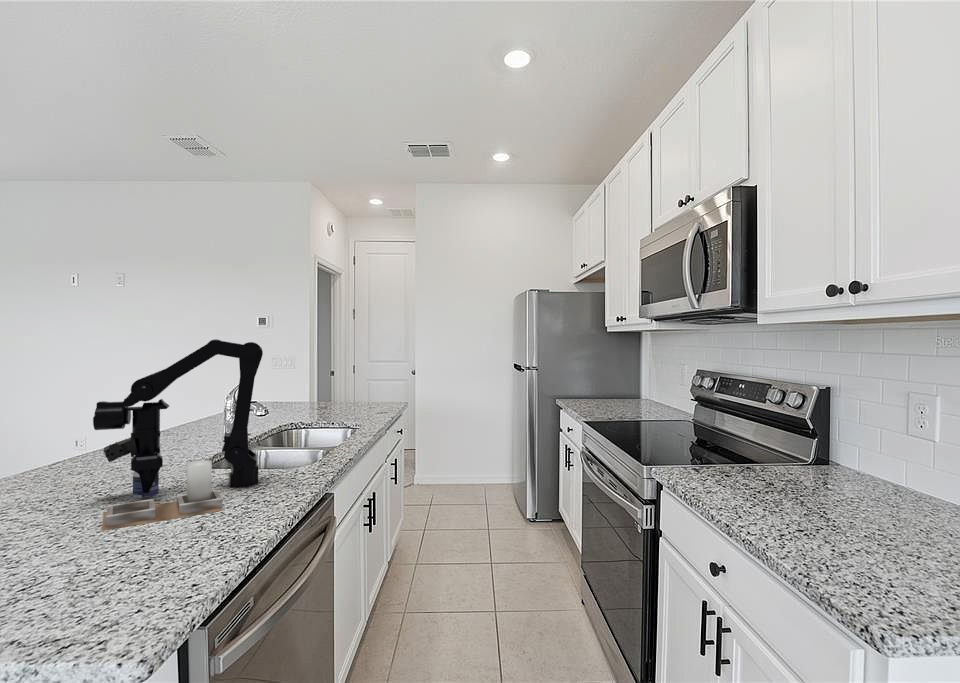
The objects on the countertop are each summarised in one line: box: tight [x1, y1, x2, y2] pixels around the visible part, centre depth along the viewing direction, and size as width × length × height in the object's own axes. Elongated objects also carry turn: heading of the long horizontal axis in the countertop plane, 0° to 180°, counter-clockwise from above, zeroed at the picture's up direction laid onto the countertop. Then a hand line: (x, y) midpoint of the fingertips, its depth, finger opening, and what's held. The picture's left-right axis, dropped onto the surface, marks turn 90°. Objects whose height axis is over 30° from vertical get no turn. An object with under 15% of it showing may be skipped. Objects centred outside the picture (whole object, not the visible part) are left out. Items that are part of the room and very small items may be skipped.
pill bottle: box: [132, 471, 160, 499], centre depth 125 cm, size 5×5×10 cm
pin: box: [186, 459, 213, 503], centre depth 117 cm, size 5×5×10 cm
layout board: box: [100, 489, 223, 532], centre depth 113 cm, size 22×13×4 cm, turn 125°
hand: (145, 489), depth 125 cm, fingers open, 6 cm apart
